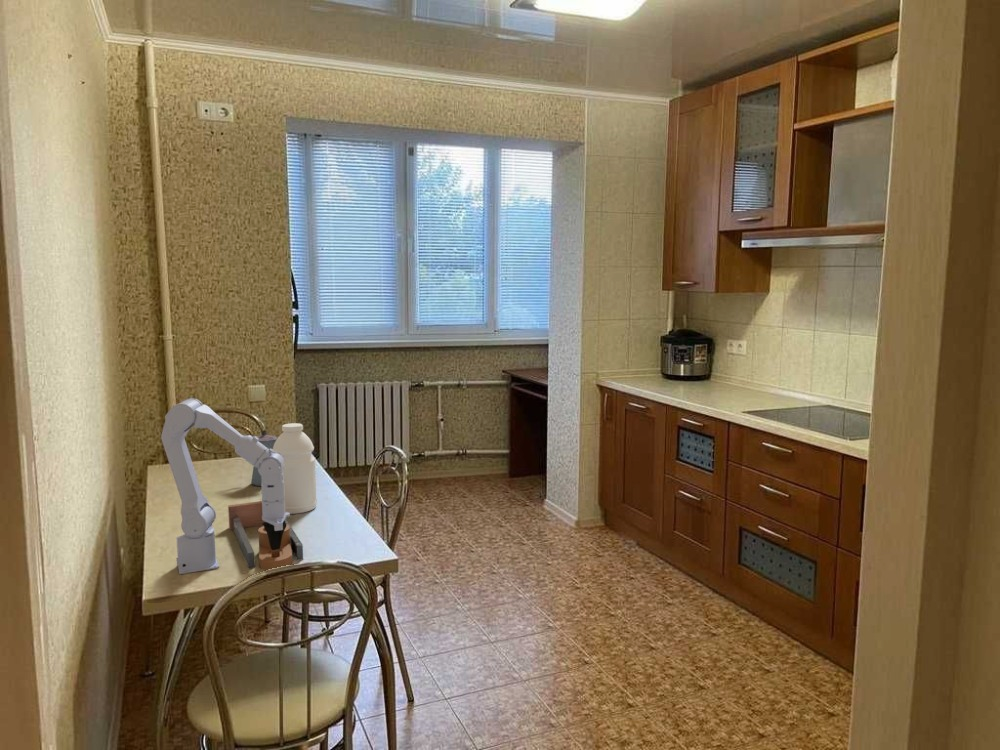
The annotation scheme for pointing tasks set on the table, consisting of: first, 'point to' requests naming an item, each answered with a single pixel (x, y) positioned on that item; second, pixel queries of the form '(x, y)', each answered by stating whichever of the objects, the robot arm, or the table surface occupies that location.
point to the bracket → (274, 557)
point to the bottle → (297, 468)
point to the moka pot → (269, 443)
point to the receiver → (250, 517)
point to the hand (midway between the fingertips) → (275, 548)
